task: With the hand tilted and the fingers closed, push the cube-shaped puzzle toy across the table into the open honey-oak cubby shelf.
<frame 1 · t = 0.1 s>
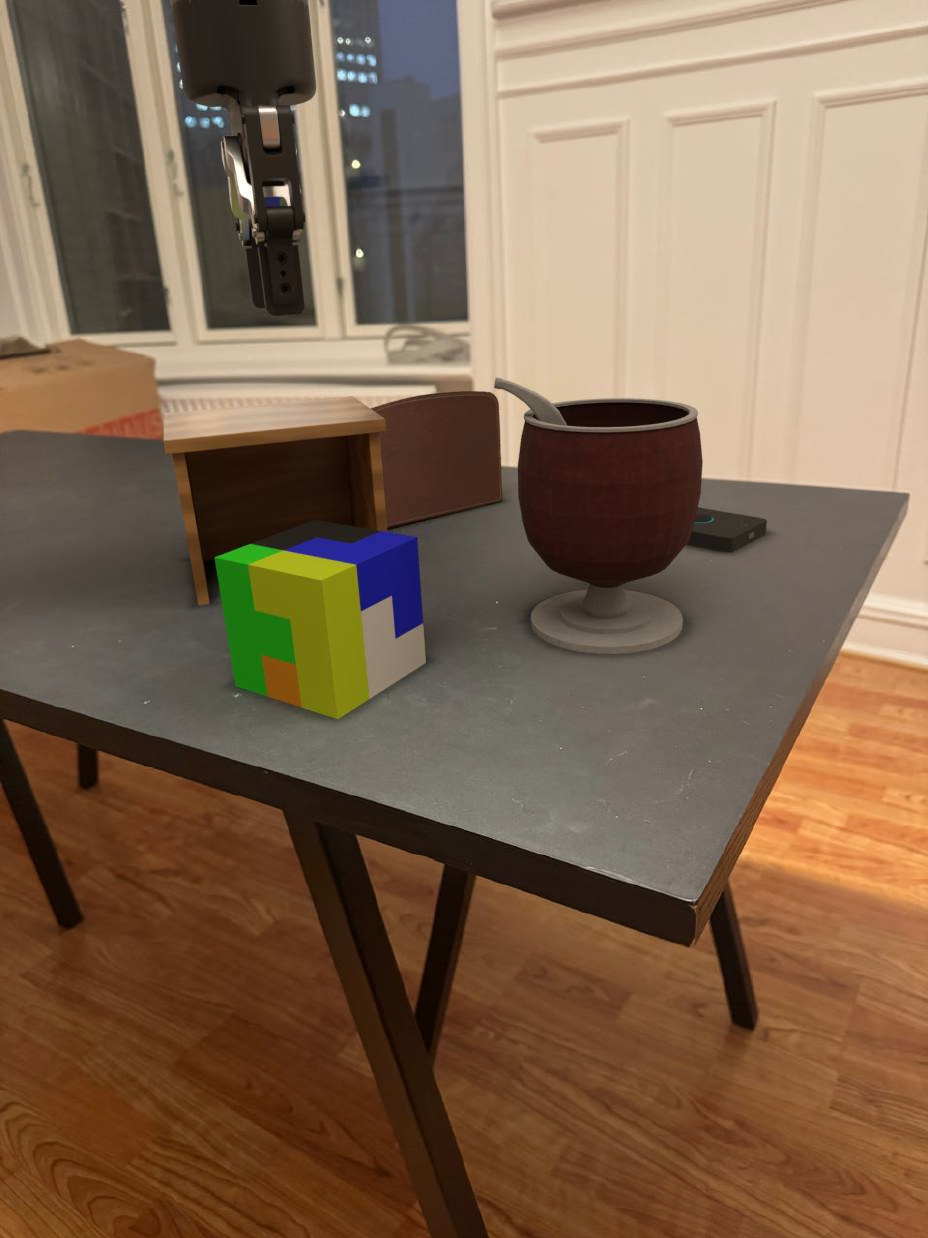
hand: (277, 310, 56), 26 cm above the table, tool pointing down, fingers open, 8 cm apart
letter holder: (414, 512, 107), on the table
smart home device: (663, 528, 96), on the table
mate gourd: (595, 625, 73), on the table
puzzle toy: (332, 677, 66), on the table
shelf: (288, 568, 89), on the table
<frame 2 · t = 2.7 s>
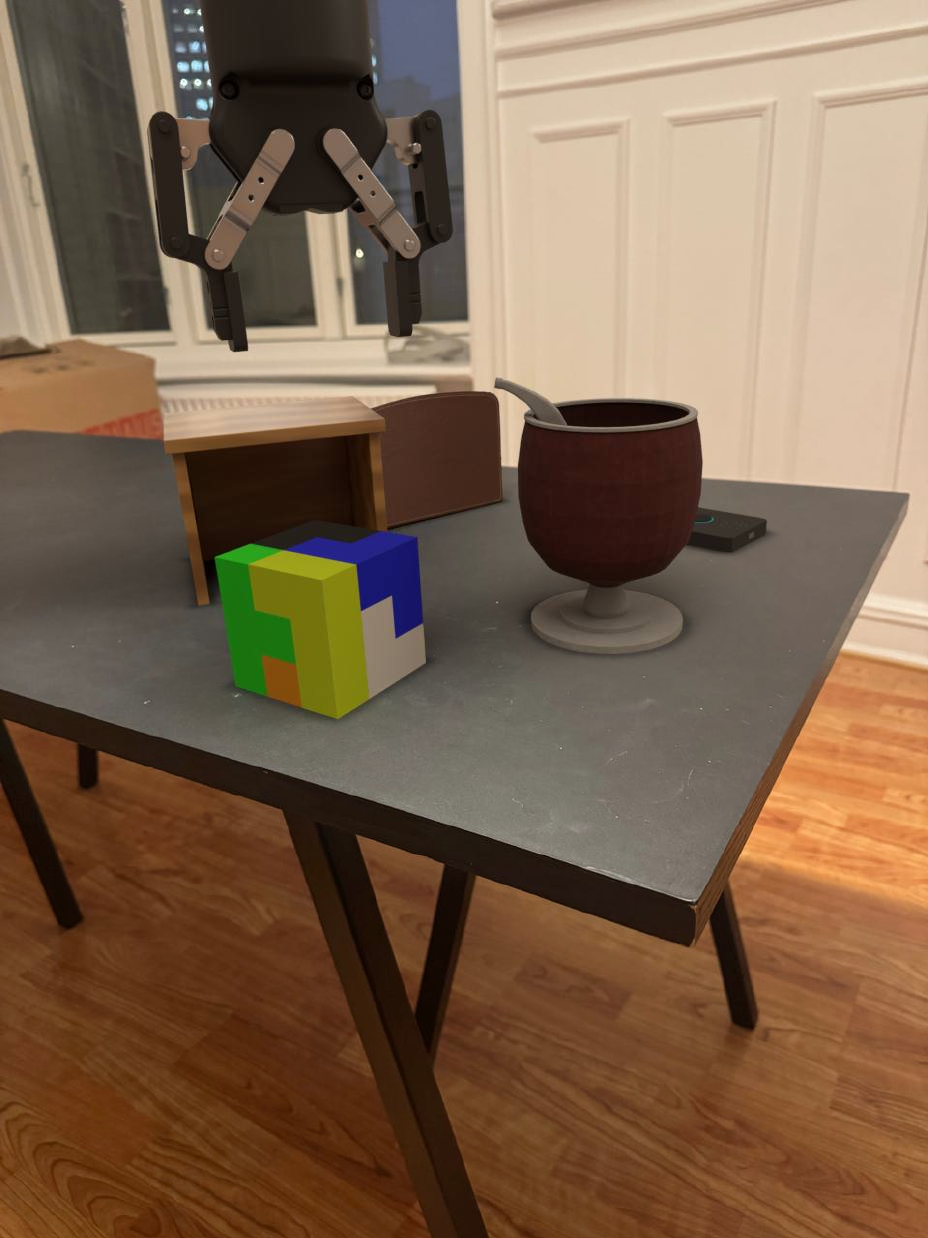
hand: (321, 343, 46), 25 cm above the table, tool pointing down, fingers open, 8 cm apart
nothing on the table moved.
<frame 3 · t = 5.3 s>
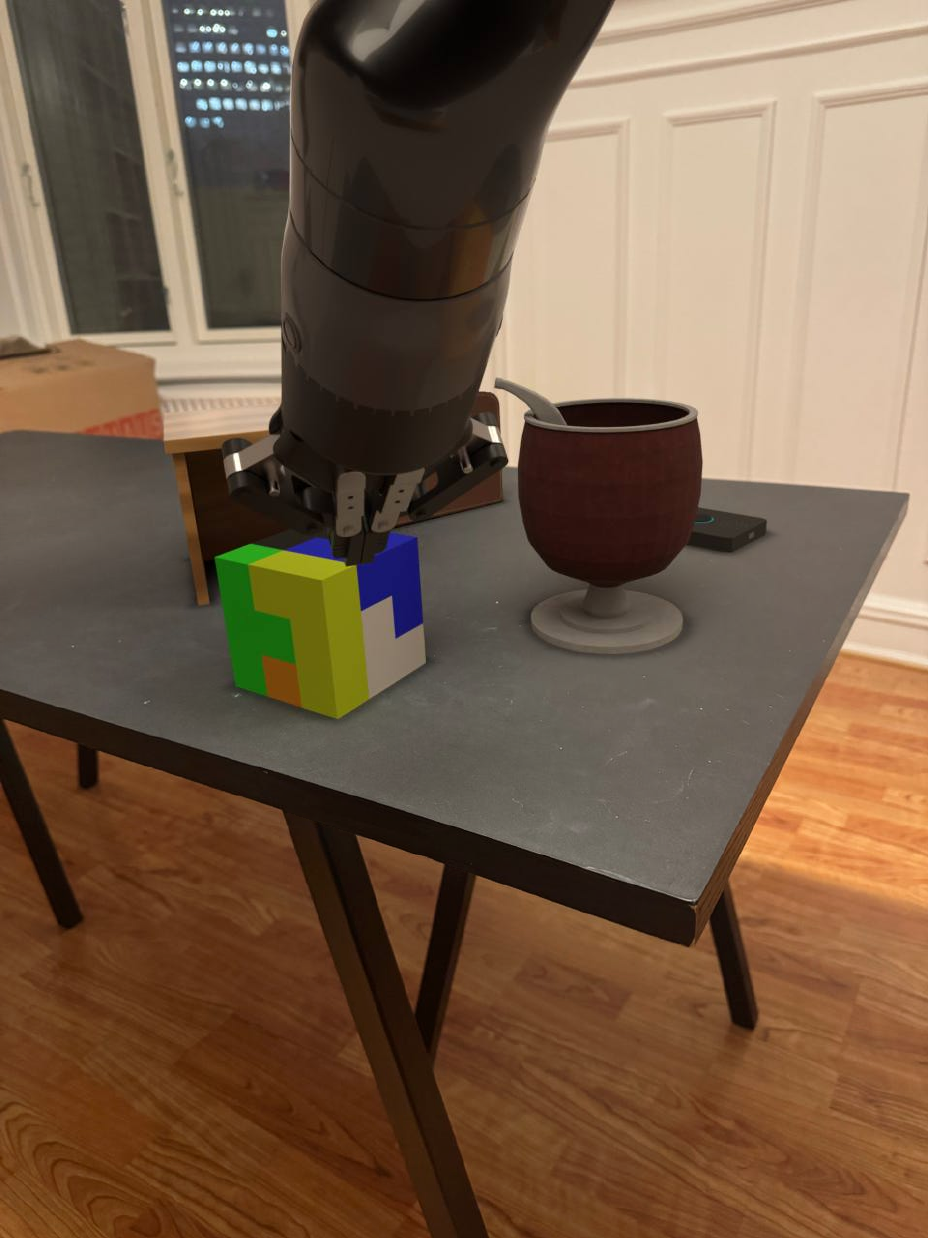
hand: (354, 549, 47), 15 cm above the table, tool tilted 45°, fingers closed
nothing on the table moved.
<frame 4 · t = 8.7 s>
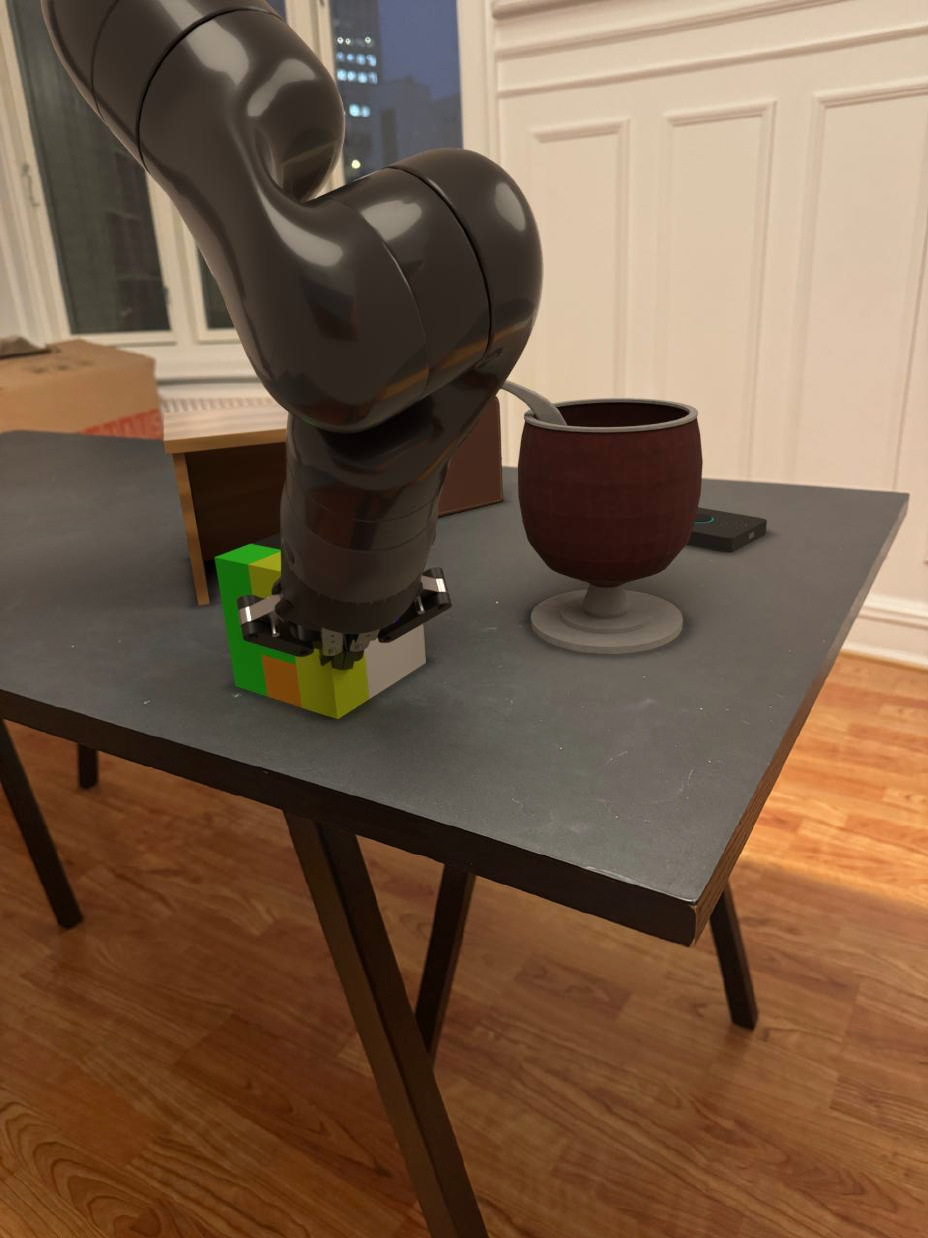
hand: (338, 657, 60), 4 cm above the table, tool tilted 45°, fingers closed
puzzle toy: (332, 677, 66), on the table, touching gripper
everything else where it was.
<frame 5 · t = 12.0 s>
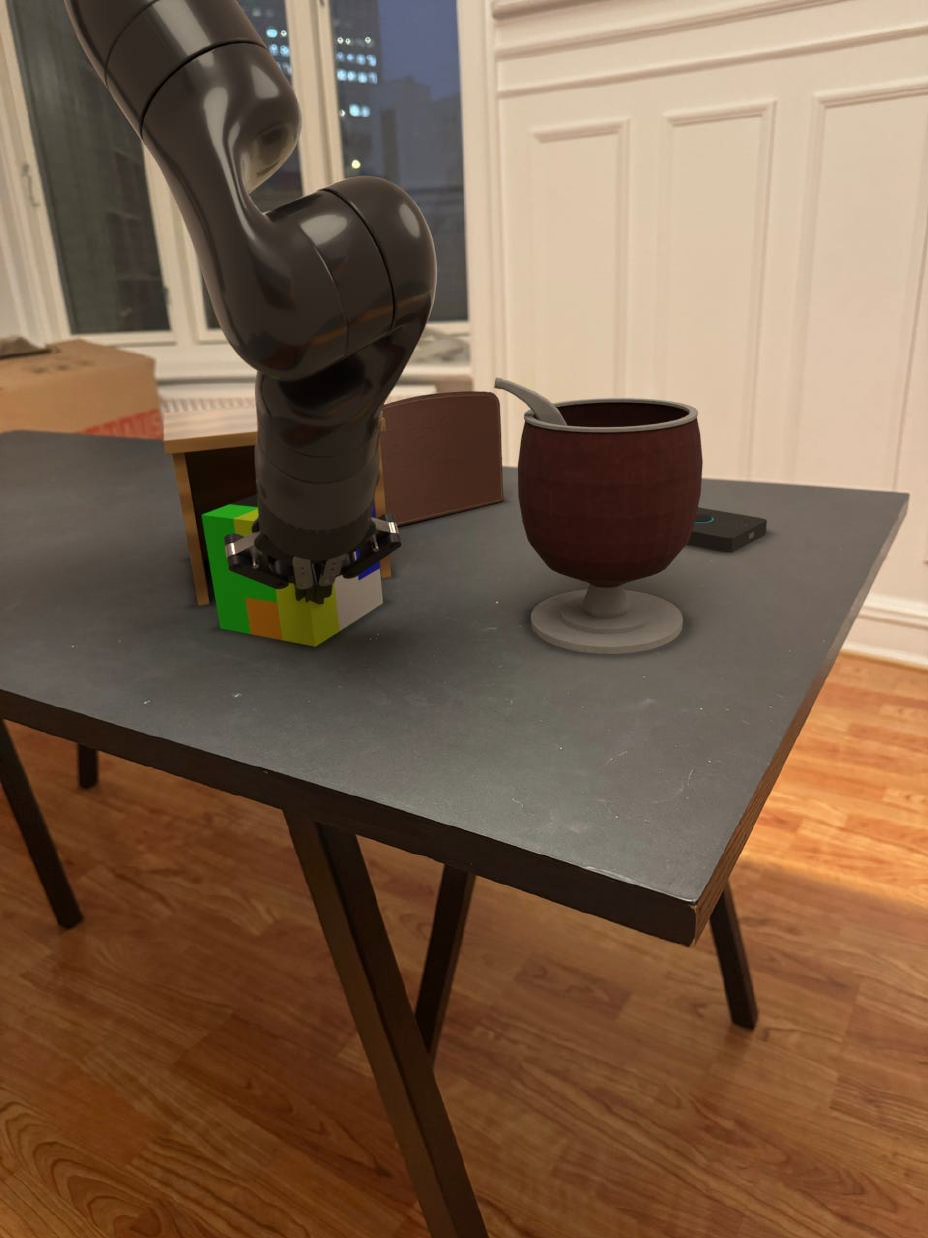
hand: (311, 594, 71), 4 cm above the table, tool tilted 45°, fingers closed
puzzle toy: (303, 617, 77), on the table, touching gripper
everything else where it was.
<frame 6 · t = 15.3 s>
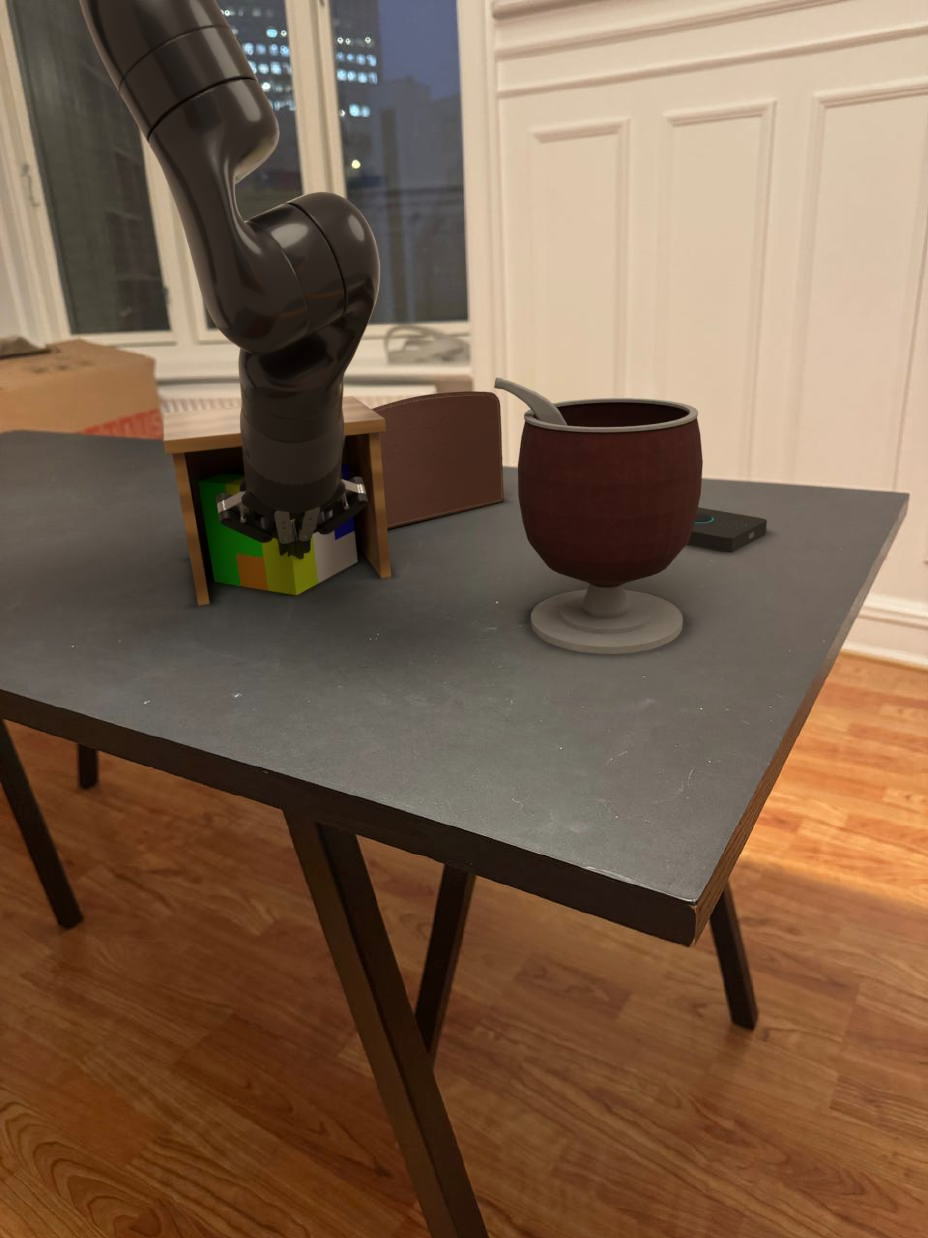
hand: (293, 550, 82), 4 cm above the table, tool tilted 45°, fingers closed
puzzle toy: (287, 573, 88), on the table, touching gripper, shelf
everything else where it was.
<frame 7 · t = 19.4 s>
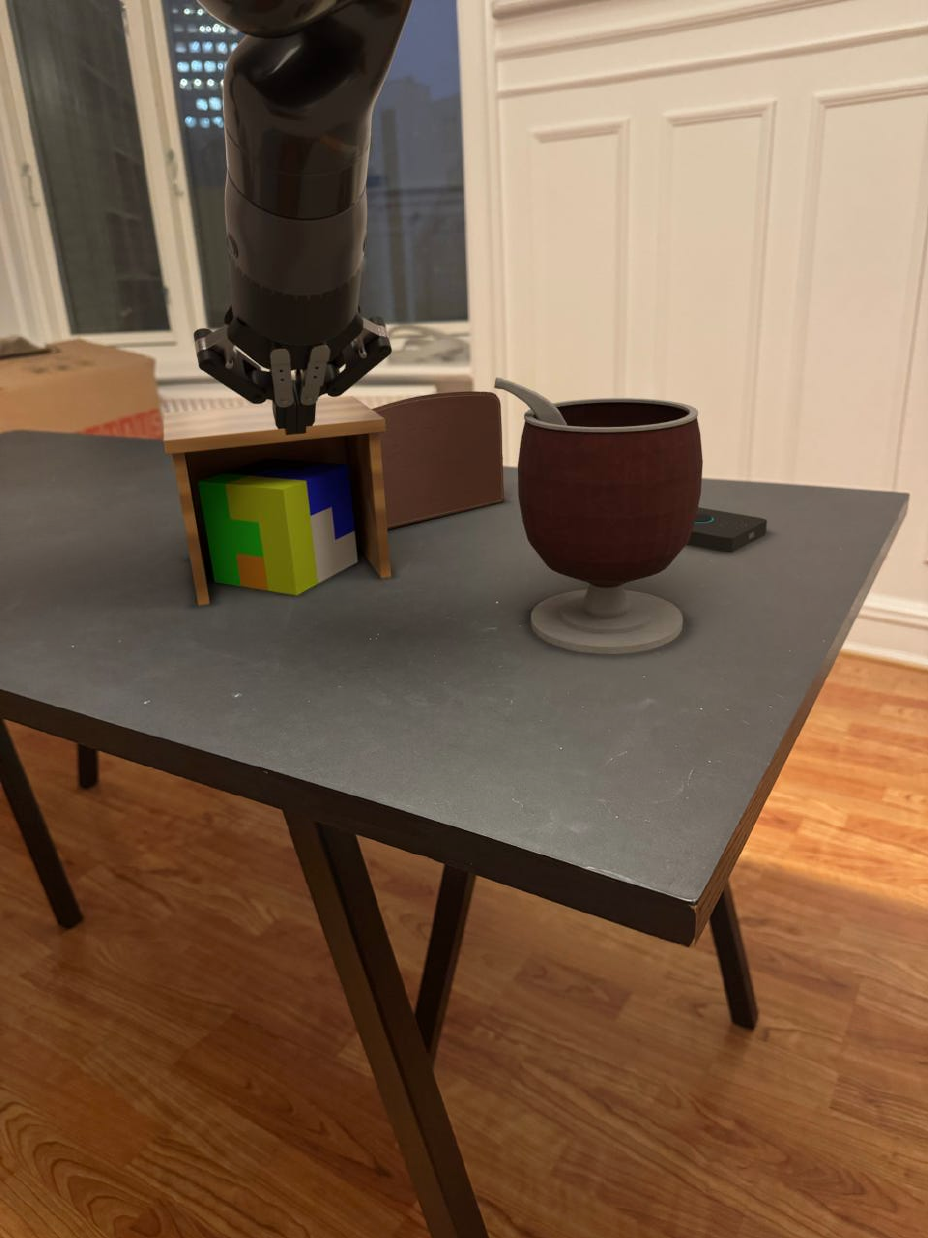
hand: (293, 424, 65), 18 cm above the table, tool tilted 45°, fingers closed
puzzle toy: (287, 573, 88), on the table, touching shelf
everything else where it was.
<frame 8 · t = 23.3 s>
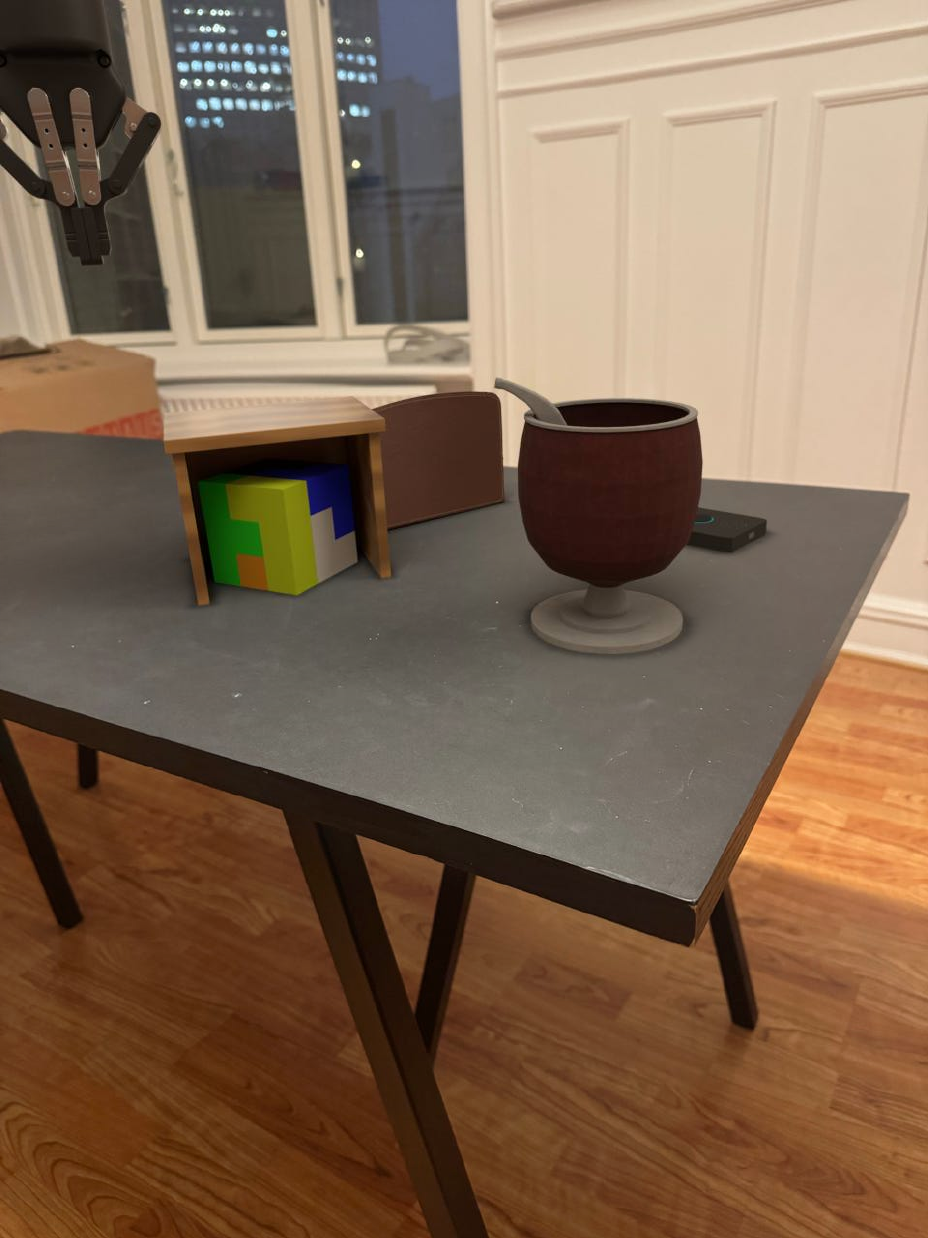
hand: (92, 264, 63), 29 cm above the table, tool pointing down, fingers closed
nothing on the table moved.
at the end: puzzle toy inside the target area on the shelf (2.1 cm from its centre), point 0.0 cm above the shelf's base; puzzle toy tilted 0° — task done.
